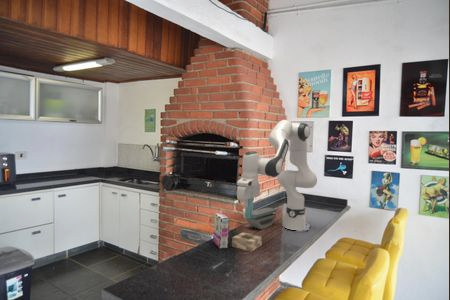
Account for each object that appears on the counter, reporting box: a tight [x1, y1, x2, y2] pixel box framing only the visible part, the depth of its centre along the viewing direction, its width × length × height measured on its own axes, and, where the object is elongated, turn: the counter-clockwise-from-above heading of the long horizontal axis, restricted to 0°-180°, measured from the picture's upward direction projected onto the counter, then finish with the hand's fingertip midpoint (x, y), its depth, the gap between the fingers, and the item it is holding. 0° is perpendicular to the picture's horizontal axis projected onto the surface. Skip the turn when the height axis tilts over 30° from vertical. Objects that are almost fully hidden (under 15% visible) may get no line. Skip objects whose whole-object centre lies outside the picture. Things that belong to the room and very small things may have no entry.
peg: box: [244, 192, 253, 219], centre depth 162 cm, size 4×4×14 cm
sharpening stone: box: [246, 206, 278, 230], centre depth 201 cm, size 25×8×11 cm, turn 138°
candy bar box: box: [212, 212, 230, 249], centre depth 163 cm, size 11×5×16 cm, turn 21°
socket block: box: [231, 232, 263, 253], centre depth 163 cm, size 12×12×5 cm
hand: (248, 206), depth 162 cm, fingers closed on peg, 4 cm apart
